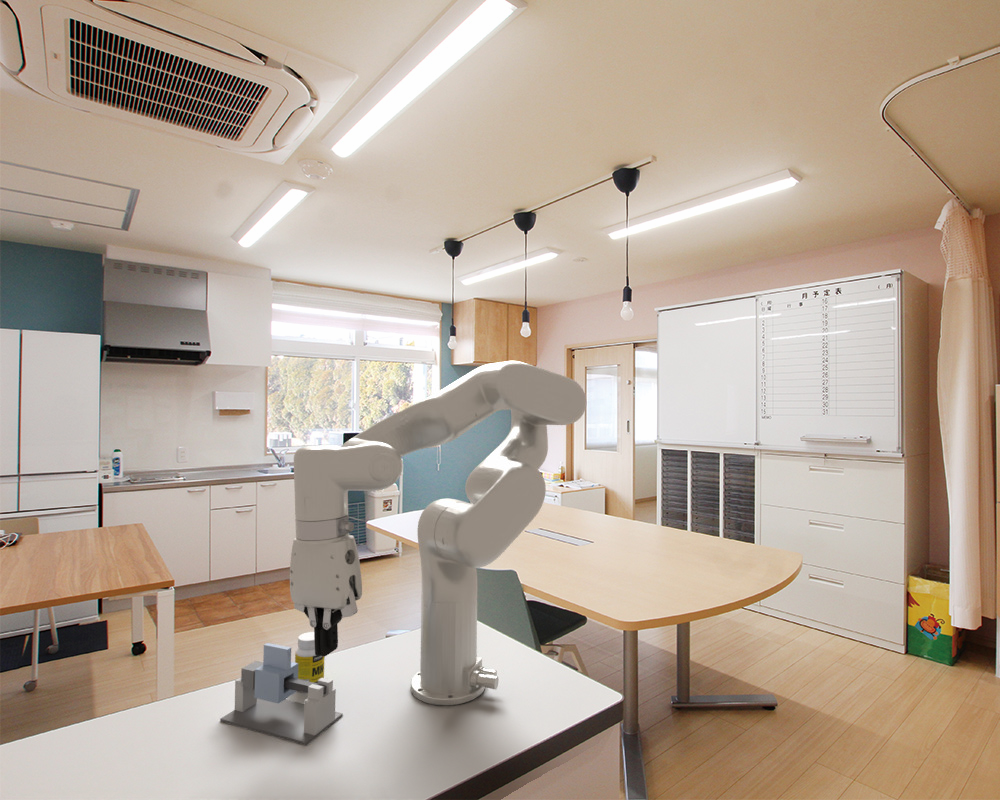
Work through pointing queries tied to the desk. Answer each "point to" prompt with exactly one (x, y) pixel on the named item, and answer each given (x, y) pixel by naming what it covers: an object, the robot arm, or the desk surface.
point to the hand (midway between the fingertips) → (326, 651)
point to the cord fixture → (284, 708)
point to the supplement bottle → (308, 659)
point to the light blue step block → (275, 673)
